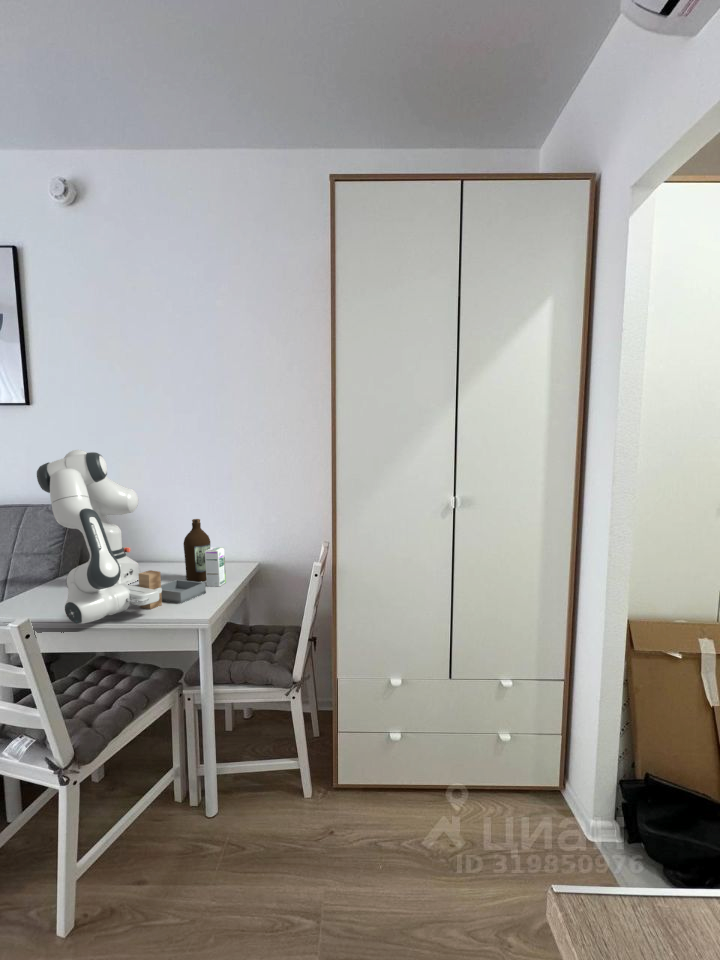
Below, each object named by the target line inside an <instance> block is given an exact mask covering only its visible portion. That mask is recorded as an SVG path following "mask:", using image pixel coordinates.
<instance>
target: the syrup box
mask: <svg viewBox="0 0 720 960" xmlns="http://www.w3.org/2000/svg"><path fill="white" fill-rule="evenodd" d="M225 559H226V558H225V548H224V547H219V546H217V547H210V549H208V550H206V551H205V563H206V581H205V582H206V586H207V587H214V586H215V587H214V588H216V587H217V588H218V587H220V588H221V586H222V585H225V584H226V583H227V580H226V579H227V577H226V560H225Z"/></svg>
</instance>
